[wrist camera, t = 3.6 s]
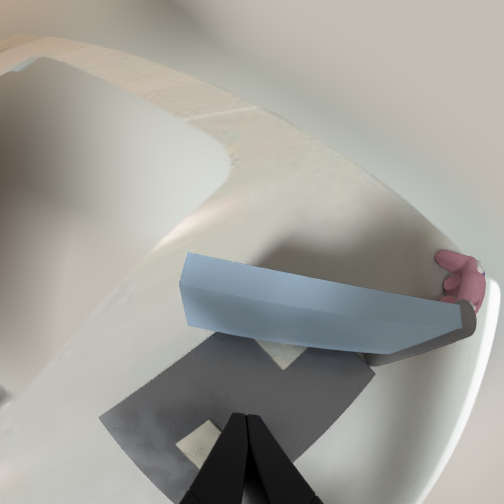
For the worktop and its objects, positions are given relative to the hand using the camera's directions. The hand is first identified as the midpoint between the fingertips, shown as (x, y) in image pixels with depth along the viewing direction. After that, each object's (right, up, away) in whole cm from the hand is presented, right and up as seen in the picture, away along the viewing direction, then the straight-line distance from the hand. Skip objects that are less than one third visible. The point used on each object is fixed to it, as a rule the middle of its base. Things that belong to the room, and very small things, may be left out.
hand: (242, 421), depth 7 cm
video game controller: (+21, 0, +19) cm, 29 cm away
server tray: (0, -6, +12) cm, 13 cm away
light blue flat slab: (+4, -2, +15) cm, 15 cm away
